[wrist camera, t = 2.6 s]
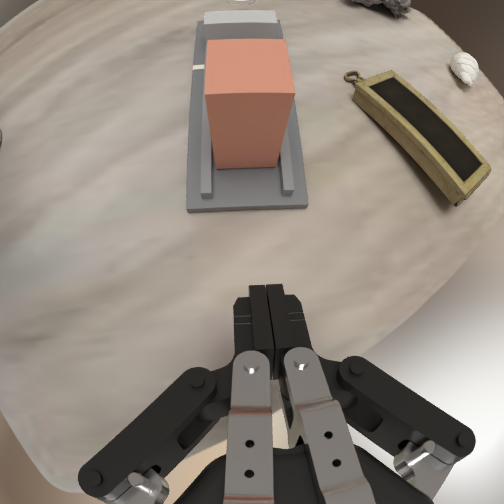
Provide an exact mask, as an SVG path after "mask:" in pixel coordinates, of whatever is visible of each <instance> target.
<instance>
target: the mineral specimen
mask: <svg viewBox="0 0 504 504" xmlns="http://www.w3.org/2000/svg"><path fill="white" fill-rule="evenodd" d="M352 2H357V3H363V4H364V5H365V6H367V7H370V6H371V5H372V4H380V3H383V4H384V5H385V6H386V7H387V8H390V10H391V12H392V13H393V15H394V16H395V18H398V17H400V16H401V13H402V12H403V13H409V12H411V11H412V9H411V8H409V6H410V2H411V0H352Z"/></svg>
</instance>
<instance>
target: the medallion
mask: <svg viewBox="0 0 504 504" xmlns="http://www.w3.org/2000/svg"><path fill="white" fill-rule="evenodd" d="M227 1H228V2H229V3H231V4H234V5H248V4H251V3H253V2H254V1H255V0H227Z"/></svg>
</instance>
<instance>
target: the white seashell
mask: <svg viewBox="0 0 504 504" xmlns="http://www.w3.org/2000/svg"><path fill="white" fill-rule="evenodd" d="M450 66H451V69H452V71H453V72H454V73H455V75H456V76H457V77H458V78H459V79H461V80H462V81H463V82H464V83H465V84H468V85H469V86H470V87H471V86H472V83H473V82H474V81H475V80H476V78H477V76H478V71H479V70H478V63H477V61H476V60H475V59H474V58H473V57H472V56H471V55H469V54H467V53H458V54H456V55H455V56H453V57H452V58H451V61H450Z"/></svg>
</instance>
